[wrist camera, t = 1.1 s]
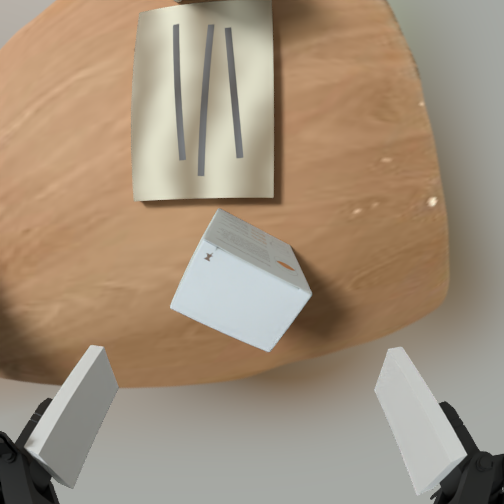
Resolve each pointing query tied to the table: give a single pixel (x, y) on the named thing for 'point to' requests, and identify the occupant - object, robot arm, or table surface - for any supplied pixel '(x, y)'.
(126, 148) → the table surface
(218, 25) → the board
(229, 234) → the small box
